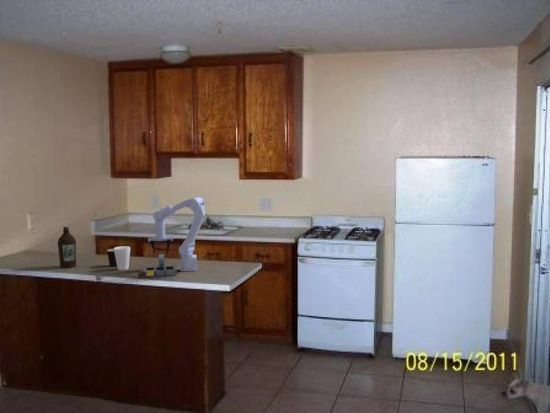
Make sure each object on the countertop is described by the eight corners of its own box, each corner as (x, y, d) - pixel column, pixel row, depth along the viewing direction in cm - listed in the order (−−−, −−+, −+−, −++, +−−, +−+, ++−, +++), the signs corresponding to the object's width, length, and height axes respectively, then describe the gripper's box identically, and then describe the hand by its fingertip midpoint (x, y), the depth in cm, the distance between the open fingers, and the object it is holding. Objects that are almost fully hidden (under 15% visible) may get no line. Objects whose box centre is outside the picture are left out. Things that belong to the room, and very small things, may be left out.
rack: (176, 270, 341) (176, 265, 341) (177, 275, 328) (176, 269, 328) (143, 272, 338) (143, 266, 337) (143, 277, 325) (142, 271, 324)
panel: (164, 267, 351) (163, 254, 350) (164, 269, 344) (163, 256, 343) (159, 267, 351) (158, 254, 350) (159, 270, 343) (158, 257, 342)
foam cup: (118, 271, 342) (117, 249, 341) (112, 268, 349) (111, 247, 348) (133, 269, 348) (132, 247, 346) (127, 266, 355) (126, 245, 354)
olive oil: (57, 266, 359) (54, 226, 356) (74, 264, 365) (72, 225, 362) (61, 269, 350) (59, 228, 347) (79, 267, 356) (77, 227, 353)
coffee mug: (108, 267, 352) (107, 251, 351) (107, 265, 360) (106, 249, 359) (127, 265, 357) (127, 250, 356) (126, 263, 365) (125, 247, 363)
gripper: (172, 228, 350) (173, 250, 351) (147, 230, 347) (148, 252, 349) (172, 230, 343) (173, 253, 345) (147, 231, 340) (148, 254, 342)
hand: (161, 252), depth 346 cm, fingers open, 7 cm apart
